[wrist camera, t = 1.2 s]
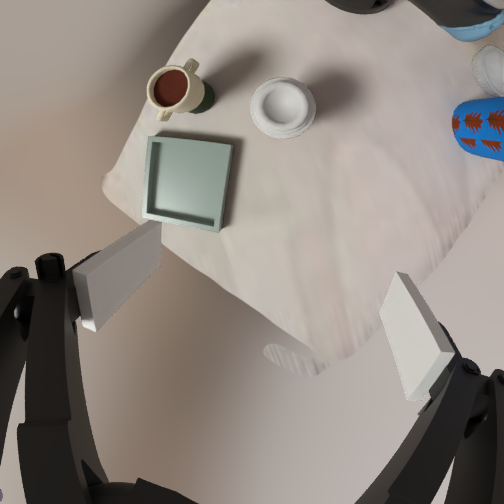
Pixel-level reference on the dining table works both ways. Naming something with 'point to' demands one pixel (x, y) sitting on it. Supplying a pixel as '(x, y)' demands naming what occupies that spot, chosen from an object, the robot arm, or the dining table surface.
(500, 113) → the thermos
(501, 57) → the ramekin
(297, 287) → the dining table surface
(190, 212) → the tray
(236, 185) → the dining table surface
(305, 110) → the coffee cup
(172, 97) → the character mug
